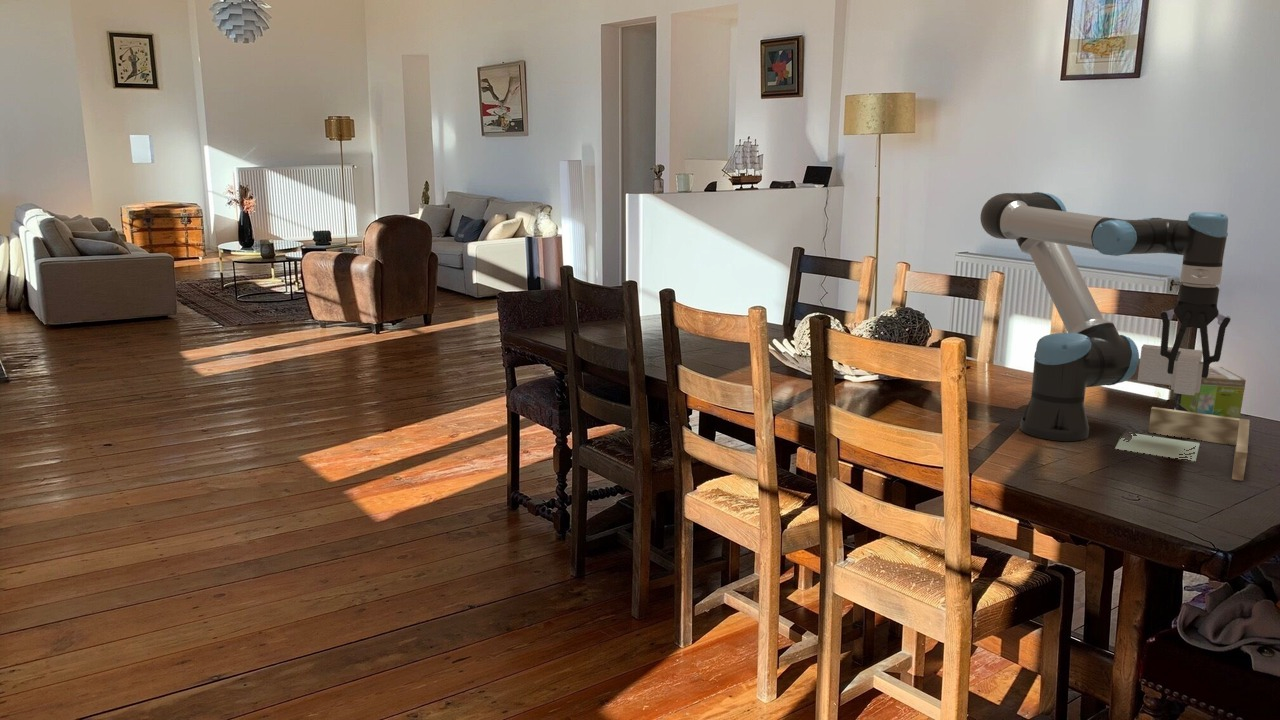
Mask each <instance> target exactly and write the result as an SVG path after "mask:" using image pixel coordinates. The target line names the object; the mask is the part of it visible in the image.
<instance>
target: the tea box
mask: <svg viewBox="0 0 1280 720" xmlns="http://www.w3.org/2000/svg"><path fill="white" fill-rule="evenodd" d="M1246 381H1247V380H1246V378H1244V377H1242V376H1240V375H1238V374H1236V373H1234V372H1232V371H1230V370H1229V369H1227V368H1225V367H1223V366H1213V365H1211V366H1210V365H1209V372H1208V376H1207V378H1202V379H1201V386H1200V392H1199V393H1195V395H1186V394H1178V393H1175V394H1176V395H1175V401H1174V409H1173V410H1180V411H1187V412H1195V413H1202V414H1209V415H1217V416H1224V417H1232V418H1239V419H1241V412H1242V406H1243V400H1244V394H1245V388H1246Z"/></svg>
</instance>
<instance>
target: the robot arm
mask: <svg viewBox="0 0 1280 720" xmlns="http://www.w3.org/2000/svg"><path fill="white" fill-rule="evenodd" d="M1187 218H1188V219H1186V220H1180V219H1173V218H1172V219H1169V218H1162V217H1146V218H1142V219H1121V218H1116V217H1108V216H1100V215H1099V216H1098V215H1093V214H1085V213H1079V212H1073V211H1067V208H1066V205H1065V204H1064V202H1062V200H1061V199H1060V198H1059V197H1058V196H1056V195H1054V194H1051V193H1047V192H1040V191H1036V192H1028V193H1027V192H1025V193H1023V192H1013V193H1011V192H1005V193H1003V192H1002V193H999V194H996V195H994V196H993V197H991V198H989V199H988V200H987V201H986V202H985V203H984V205H983V206H982V208H981V211H980V224H981V226H982V229H983V230H984V232H986V233H987V234H988V235H989V236H990V237H992V238H995V239H1001V240H1013V241H1014V240H1015V241H1016V244H1017V246H1018V247H1019V249H1020V251H1021V252H1023V253H1025V254H1028V255H1030V257H1031V259H1032V262H1033V264H1034V266H1035V267H1036V270H1037V271H1038V274H1039V275H1040V278H1041V279H1042V280H1041V281H1042V282H1043V284H1044V285H1045V288H1046V290H1047V292H1048V294H1049V297H1050V298H1051V301H1052V302H1053V304H1054V307H1055V309H1056V311H1057V312H1058V315H1059V317H1060V319H1061V321H1062V324H1063V326H1064V327H1065V329H1066V332H1065V333H1064V332H1063V333H1061V332H1057V333H1050V334H1047V335H1043V336H1042V337H1041V338H1039V339H1038V341H1037V343H1036V347H1035V348H1036V349H1035V352H1034V357H1033V358H1034V363H1033V371H1032V384H1031V393H1030V394H1031V396H1030V398H1029V399H1030V400H1029V401H1028V404H1027V406H1026V408H1025V410H1024V412H1023V415H1022V416H1021V419H1020V426H1019V429H1020V431H1022V432H1023V433H1024V434H1027V435H1029V436H1032V437H1035V438H1040V439H1044V440H1051V441H1060V442H1061V441H1062V442H1076V441H1077V442H1078V441H1082V440H1086V439H1088V438H1089V434H1090V425H1089V422H1088V418H1087V417H1088V416H1087V412H1086V407H1085V396H1086V389H1087V388H1092V387H1093V388H1094V387H1100V386H1102V387H1103V386H1115V385H1116V384H1120V383H1124V382H1126V381H1128V380H1129V379H1131V378H1132V377H1133V376H1134V374H1135V372H1136V371H1137V369H1138V368H1137V367H1138V365H1139V364H1140V352H1139V349H1138V346H1137V344H1136V343H1135V342H1134V340H1133V339H1132V338H1130V337H1127V336H1126V335H1124V334H1120V333H1119V331H1118V329H1117V328H1116V325H1115V324H1114V322H1112V321H1110V320H1109V321H1108V320H1106V319H1104V317H1103V315H1102V314H1101V311H1100V309H1099V307H1098V305H1097V303H1096V302H1095V299H1094V297H1093V296H1092V293H1091V291H1090V290H1089V288H1088V286H1087V284H1086V281H1085V280H1084V277H1083V276H1082V274H1081V272H1080V270H1079V267H1078V266H1077V264H1076V262H1075V259H1074V257H1073V255H1072V254H1071V251H1070V250H1069V248H1068V246H1072V247H1078V248H1081V249H1082V248H1083V249H1089V250H1093V251H1094V250H1095V251H1098V253H1100V254H1102V255H1107V256H1114V257H1116V256H1117V257H1119V256H1123V255H1125V256H1126V255H1142V254H1143V255H1145V254H1146V255H1147V254H1169V255H1178V256H1179V255H1180V256H1183V257H1182V265H1181V273H1180V279H1179V281H1180V282H1181V284H1180V285H1179V288H1178V295H1177V302H1176V305H1175V306H1174V307H1173V308H1172V309H1169V310H1163V311H1161V313H1160V318H1161V320H1162V328H1161V330H1162V331H1161V339H1160V340H1161V341H1160V346H1161V351H1160V354H1161V356H1165V357H1167V358H1168V359H1169V363H1168V370H1167V372H1168V374H1173V376H1172V384H1171V385H1170V390H1172V391H1174V386H1175V379H1176V371H1177V364H1178V359H1176V355H1177V352H1178V350H1179V348H1181V344H1182V341H1183V339H1184V337H1185V334H1186V332H1187V329H1188V328H1196V329H1199V333H1200V340H1201V341H1200V342H1201V350H1202V360H1201V361H1200V363H1199V369H1198V376H1197V383H1196V390H1195V393H1199V392H1200V386H1201V379H1202V378H1207V376H1208V372H1209V366H1210V364H1212V363H1219V362H1220V360H1221V355H1222V350H1223V345H1224V339H1225V333H1226V330H1227V327H1228V326H1229V324H1230V323H1231V317H1230V316H1229V315H1224V314H1223V313H1220V312H1219V311H1220V310H1219V309H1218V300H1219V293H1220V288H1219V287H1218V285H1220V284H1221V280H1222V272H1223V267H1224V266H1223V262H1224V261H1223V260H1224V256H1225V255H1224V254H1225V249H1226V243H1227V238H1228V226H1229V217H1228V216H1227V214H1226V213H1223V212H1207V211H1206V212H1205V211H1202V212H1201V211H1197V212H1190V213H1189V214H1188V217H1187ZM1174 315H1175V316H1176V318H1177V320H1178V321H1179V322H1180V327H1179V330H1178V333H1177V335H1176V337H1175V340H1174V343H1173V346H1172V347H1173V348H1172V350H1171V352H1170V351H1168V347H1169V341H1170V340H1169V338H1170V328H1171V327H1170V325H1171V320H1172V319H1173V318H1174ZM1215 319H1217V324H1218V325H1219V327H1218V331H1217V336H1216V337H1217V338H1216V341H1215V342H1216V343H1215V347H1214V354H1213V355H1211V353H1210V344H1209V343H1210V342H1209V333H1208V331H1209V330H1208V326H1209V325H1210V324H1211V323H1212V322H1213V321H1214V320H1215Z"/></svg>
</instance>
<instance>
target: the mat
mask: <svg viewBox="0 0 1280 720" xmlns="http://www.w3.org/2000/svg"><path fill="white" fill-rule="evenodd" d="M1135 434H1136V435H1137V436H1133V434H1131V435H1132V439H1131V440H1130V441H1129V442H1126V441H1128V440H1125V441H1123V440H1124V439H1125V438H1121V437H1120V438H1121V439H1120V438H1119V439H1118V442H1117V444H1116V446H1115V448H1114V450H1117V449H1119V450H1120V451H1124V450H1127V451H1126V452H1130V451H1132V452H1131V453H1137V452H1138V453H1137V454H1143V453H1145V454H1144V455H1149V454H1151V456H1156V455H1157V457H1162V456H1163V458H1168V457H1170V459H1175V458H1178V459H1177V460H1181V459H1188V460H1191V461H1190V462H1194V461H1195V463H1196V461H1197V457H1198V454H1199V449H1200V442H1195V441H1189V440H1188V441H1187V440H1183V439H1182V440H1181V439H1175V438H1168V437H1163V436H1162V437H1160V436H1154V435H1147V434H1143V433H1142V434H1140V433H1135ZM1152 436H1153V437H1152ZM1195 446H1196V447H1195ZM1193 447H1195V449H1192V450H1189V449H1191V448H1193ZM1184 449H1185V450H1184ZM1119 450H1118V451H1119ZM1186 450H1189V451H1186ZM1193 452H1195V454H1191V455H1185V454H1189V453H1193ZM1184 453H1185V454H1184ZM1179 454H1183V455H1179ZM1185 456H1187V457H1188V458H1179V457H1185ZM1190 456H1192V457H1190ZM1190 458H1192V459H1190Z"/></svg>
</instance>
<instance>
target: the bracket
mask: <svg viewBox="0 0 1280 720" xmlns="http://www.w3.org/2000/svg"><path fill="white" fill-rule="evenodd" d="M1172 348H1173V346H1168V351H1170V352H1171V350H1172ZM1160 351H1161V345H1152V344H1146V343H1145V344H1142V346H1141V350H1140V355H1139V363H1138V375H1137V380H1136V381H1137V382H1140V383H1141V382H1143V383H1149V384H1159V385H1165V386H1167V385H1168V386H1171V384H1172V376H1173V374H1168V372H1167V370H1168V363H1169V359H1168V358H1167V357H1165V356H1161V354H1160ZM1176 359H1178V364H1177V371H1176V379H1175V386H1174V390H1173V394H1176V393H1178V394H1186V395H1195V390H1196V383H1197V376H1198V369H1199V363H1200V361H1201V362H1202V361H1203V353H1202V349H1201V350H1200V349H1190V348H1182V347H1179V350H1178V352H1177V355H1176Z"/></svg>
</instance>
